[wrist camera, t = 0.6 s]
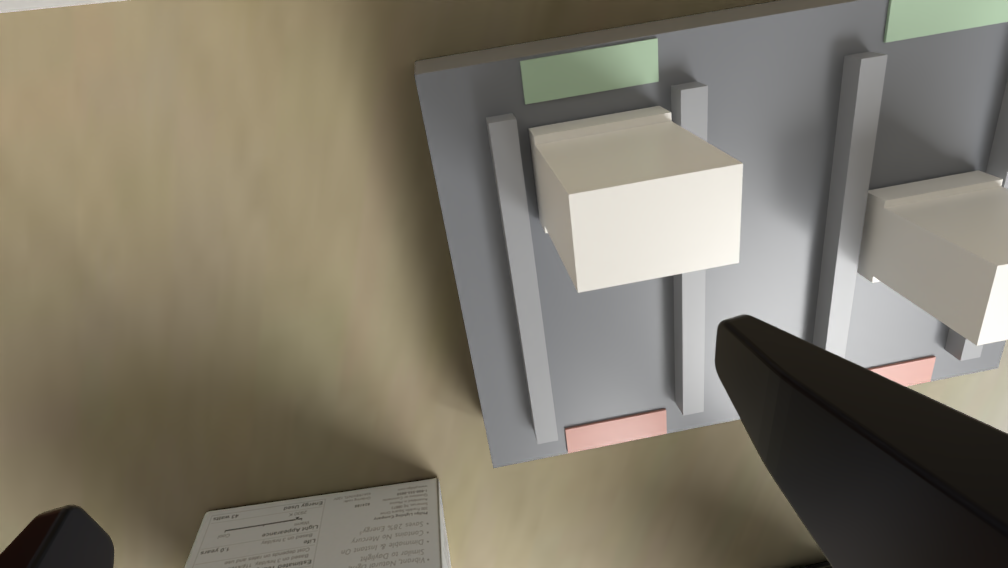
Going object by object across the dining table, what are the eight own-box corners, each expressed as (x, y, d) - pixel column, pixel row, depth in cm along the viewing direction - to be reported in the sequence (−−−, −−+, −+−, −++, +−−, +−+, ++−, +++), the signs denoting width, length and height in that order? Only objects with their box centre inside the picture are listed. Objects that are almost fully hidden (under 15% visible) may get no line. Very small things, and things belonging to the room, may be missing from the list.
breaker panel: (942, 330, 28) (1014, 379, 24) (485, 419, 27) (495, 483, 24) (1026, -42, 21) (1143, -44, 18) (414, 61, 20) (414, 79, 17)
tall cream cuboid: (661, 199, 20) (738, 272, 15) (540, 221, 20) (578, 301, 15) (659, 105, 18) (743, 152, 14) (528, 128, 18) (567, 183, 14)
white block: (959, 250, 22) (1109, 326, 17) (853, 270, 22) (974, 353, 17) (978, 170, 21) (1144, 229, 16) (864, 190, 21) (999, 257, 16)
